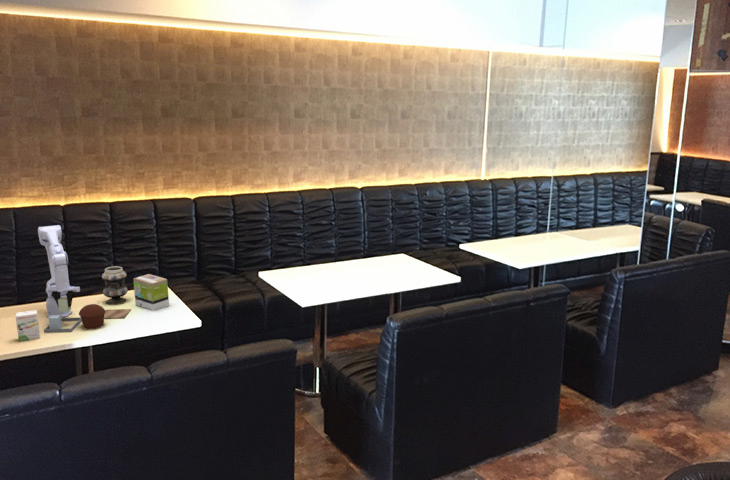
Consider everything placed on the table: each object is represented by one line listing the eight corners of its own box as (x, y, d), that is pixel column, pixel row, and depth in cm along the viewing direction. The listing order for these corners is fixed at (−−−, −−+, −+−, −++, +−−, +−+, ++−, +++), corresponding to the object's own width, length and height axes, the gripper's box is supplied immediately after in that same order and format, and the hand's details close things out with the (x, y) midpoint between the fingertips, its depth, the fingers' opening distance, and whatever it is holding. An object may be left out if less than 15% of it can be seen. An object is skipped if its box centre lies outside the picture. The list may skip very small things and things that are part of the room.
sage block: (59, 312, 296) (57, 299, 295) (62, 309, 300) (61, 296, 298) (68, 311, 296) (66, 299, 295) (71, 308, 300) (69, 296, 299)
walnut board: (98, 319, 306) (98, 318, 305) (106, 310, 317) (106, 309, 317) (124, 318, 307) (124, 317, 307) (131, 310, 318) (130, 308, 318)
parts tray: (44, 332, 288) (43, 329, 288) (56, 321, 303) (56, 318, 303) (71, 331, 289) (71, 328, 289) (82, 320, 304) (82, 317, 304)
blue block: (49, 330, 291) (48, 318, 290) (53, 327, 295) (51, 315, 293) (58, 330, 291) (57, 318, 290) (62, 327, 295) (60, 315, 294)
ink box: (18, 341, 278) (15, 316, 275) (18, 337, 282) (15, 312, 280) (40, 338, 282) (37, 313, 279) (39, 334, 286) (36, 309, 284)
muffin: (111, 322, 301) (110, 302, 299) (97, 331, 291) (95, 310, 289) (89, 320, 304) (87, 300, 301) (74, 328, 293) (72, 308, 291)
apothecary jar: (133, 299, 334) (131, 266, 330) (116, 306, 323) (113, 272, 319) (116, 296, 339) (113, 264, 335) (98, 303, 328) (95, 269, 324)
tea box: (134, 305, 325) (132, 277, 322) (151, 300, 333) (149, 273, 330) (153, 311, 317) (151, 282, 313) (169, 306, 325) (168, 278, 321)
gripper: (41, 281, 290) (45, 309, 293) (75, 280, 291) (77, 309, 294) (48, 277, 297) (51, 304, 300) (80, 276, 298) (83, 304, 301)
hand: (64, 306), depth 298 cm, fingers closed on sage block, 4 cm apart
